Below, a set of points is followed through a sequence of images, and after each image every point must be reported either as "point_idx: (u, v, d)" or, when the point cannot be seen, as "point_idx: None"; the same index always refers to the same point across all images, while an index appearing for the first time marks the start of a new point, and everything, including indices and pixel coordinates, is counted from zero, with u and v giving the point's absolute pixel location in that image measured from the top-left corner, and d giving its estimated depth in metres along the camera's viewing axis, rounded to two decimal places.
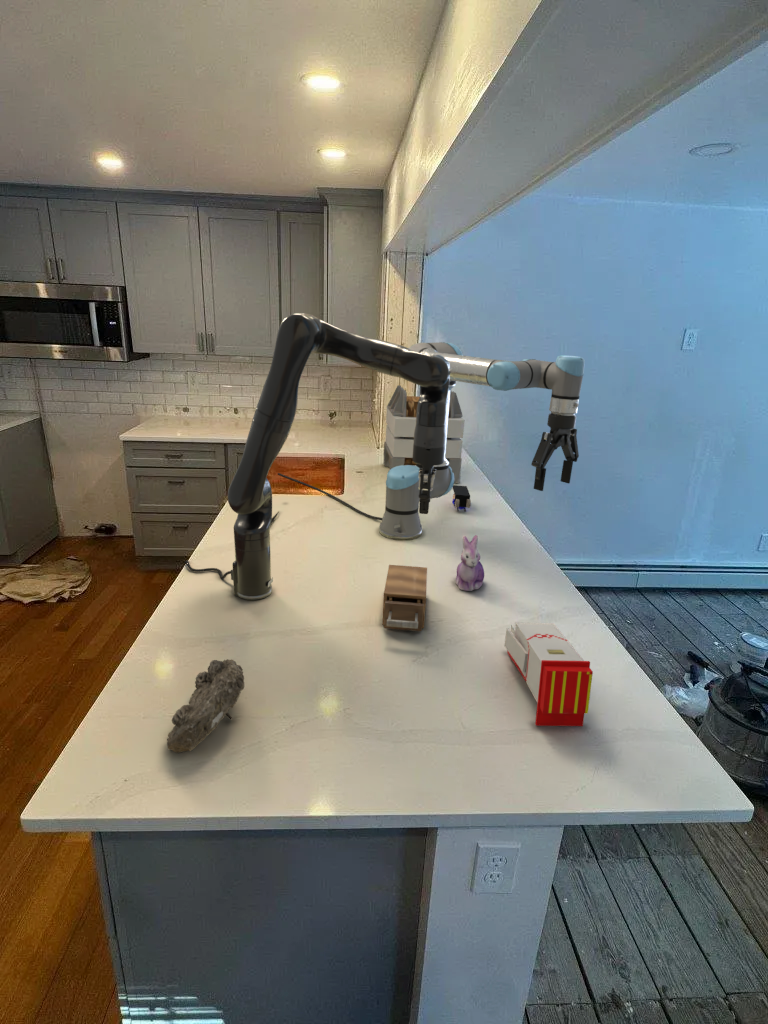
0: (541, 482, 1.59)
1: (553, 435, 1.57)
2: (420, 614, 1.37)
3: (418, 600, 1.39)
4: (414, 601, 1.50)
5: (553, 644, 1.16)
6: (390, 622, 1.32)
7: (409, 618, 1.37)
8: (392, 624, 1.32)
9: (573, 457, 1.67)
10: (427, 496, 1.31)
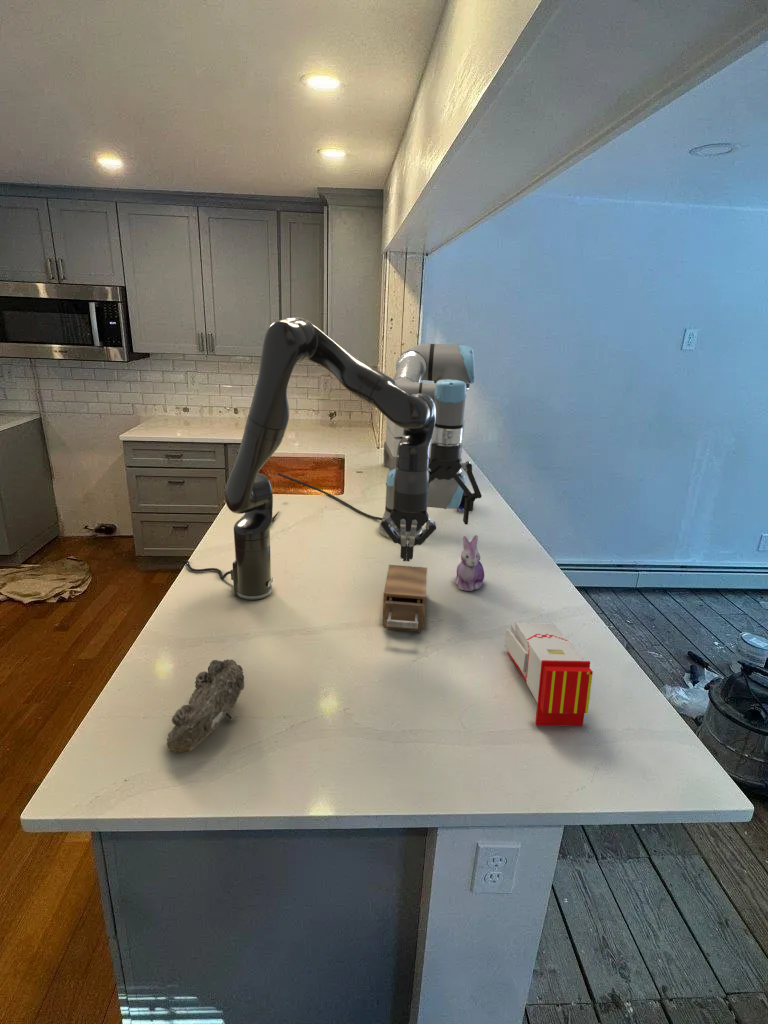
0: None
1: None
2: (420, 614, 1.37)
3: (418, 600, 1.39)
4: (414, 601, 1.50)
5: (553, 644, 1.16)
6: (390, 622, 1.32)
7: (409, 618, 1.37)
8: (392, 624, 1.32)
9: (470, 496, 1.46)
10: None
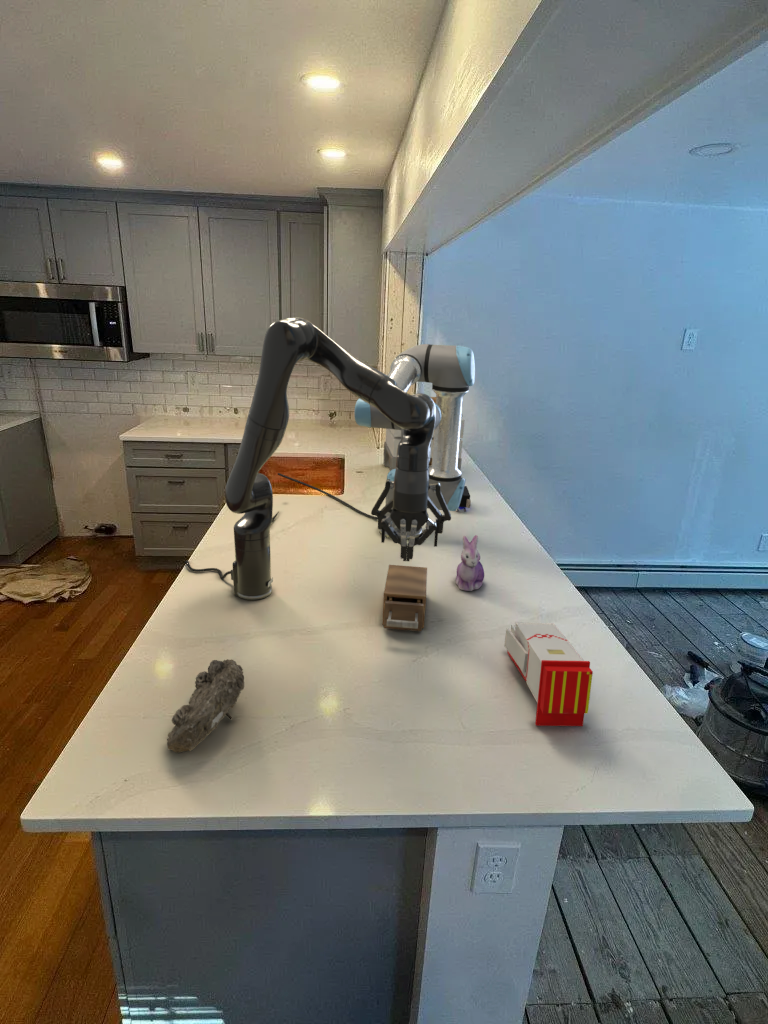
0: (381, 533, 1.46)
1: None
2: (420, 614, 1.37)
3: (418, 600, 1.39)
4: (414, 601, 1.50)
5: (553, 644, 1.16)
6: (390, 622, 1.32)
7: (409, 618, 1.37)
8: (392, 624, 1.32)
9: (439, 517, 1.43)
10: None
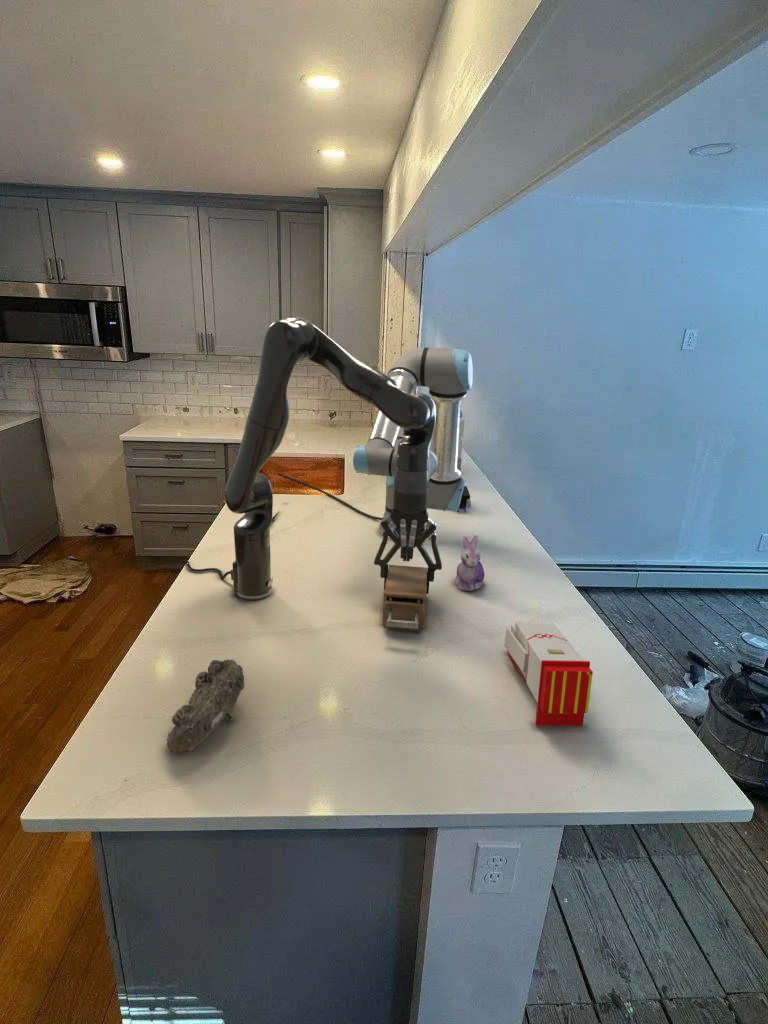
0: (384, 582, 1.50)
1: None
2: (420, 614, 1.37)
3: (418, 600, 1.39)
4: (414, 601, 1.50)
5: (553, 644, 1.16)
6: (390, 622, 1.32)
7: (409, 618, 1.37)
8: (392, 624, 1.32)
9: (431, 566, 1.48)
10: None
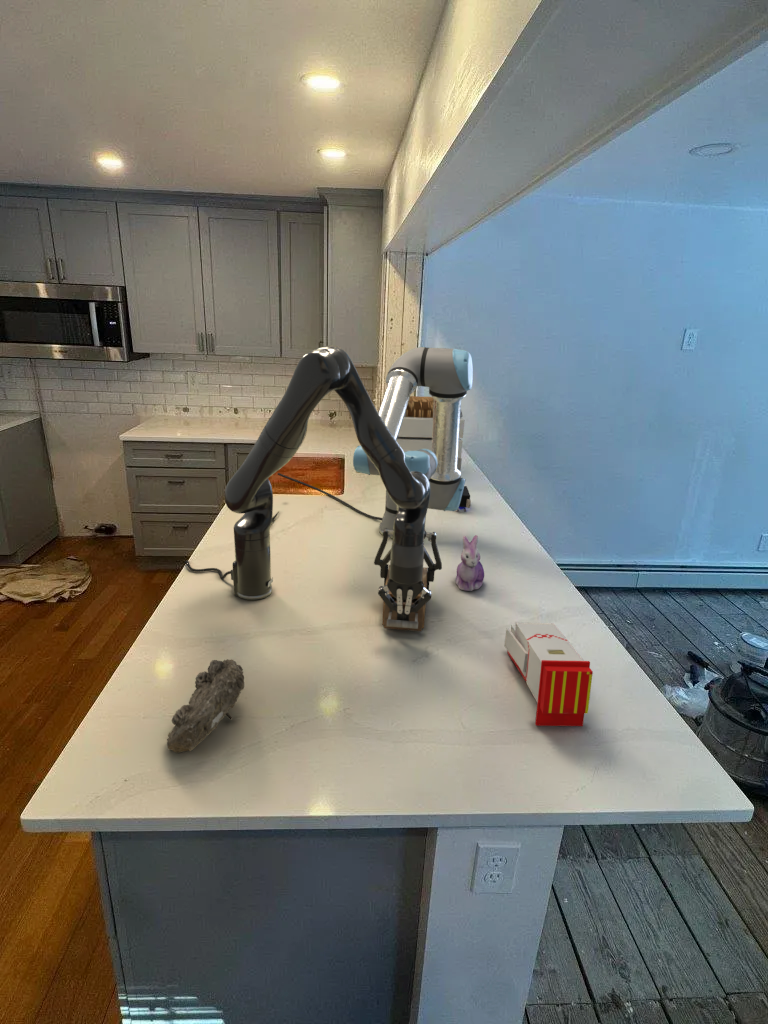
0: (384, 582, 1.50)
1: None
2: (420, 614, 1.37)
3: None
4: (414, 601, 1.50)
5: (553, 644, 1.16)
6: (390, 622, 1.32)
7: (409, 618, 1.37)
8: (392, 624, 1.32)
9: (431, 567, 1.48)
10: None
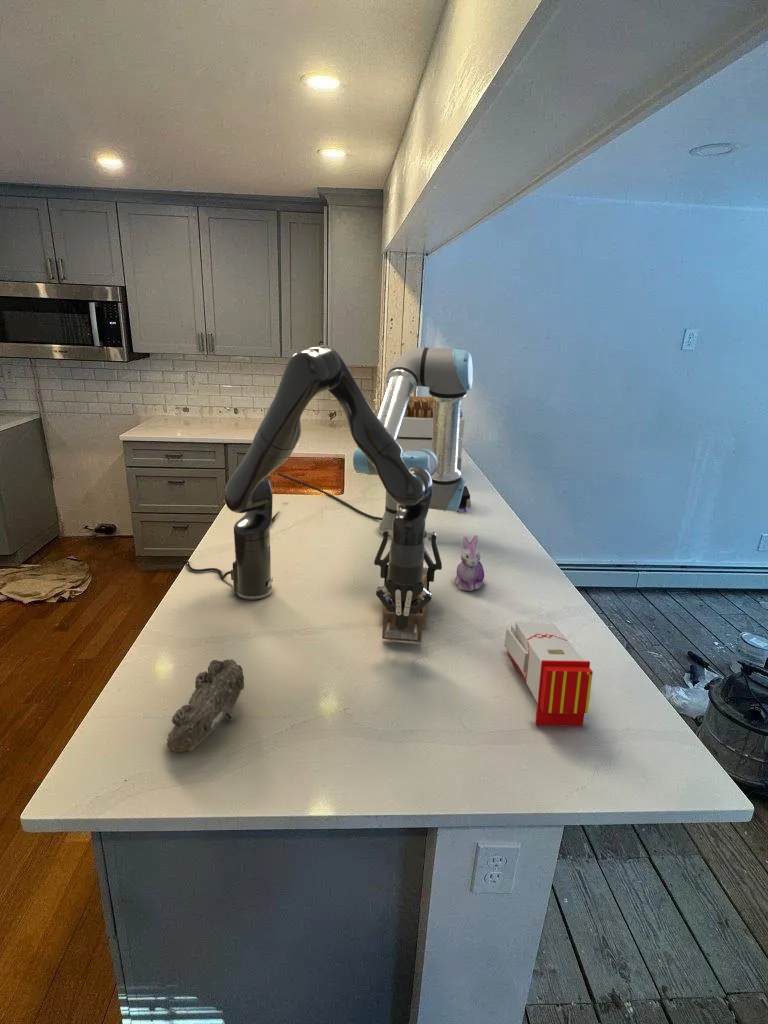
0: (384, 582, 1.50)
1: None
2: (419, 625, 1.32)
3: None
4: None
5: (553, 644, 1.16)
6: (388, 633, 1.27)
7: (408, 628, 1.33)
8: (390, 635, 1.27)
9: (431, 567, 1.48)
10: None
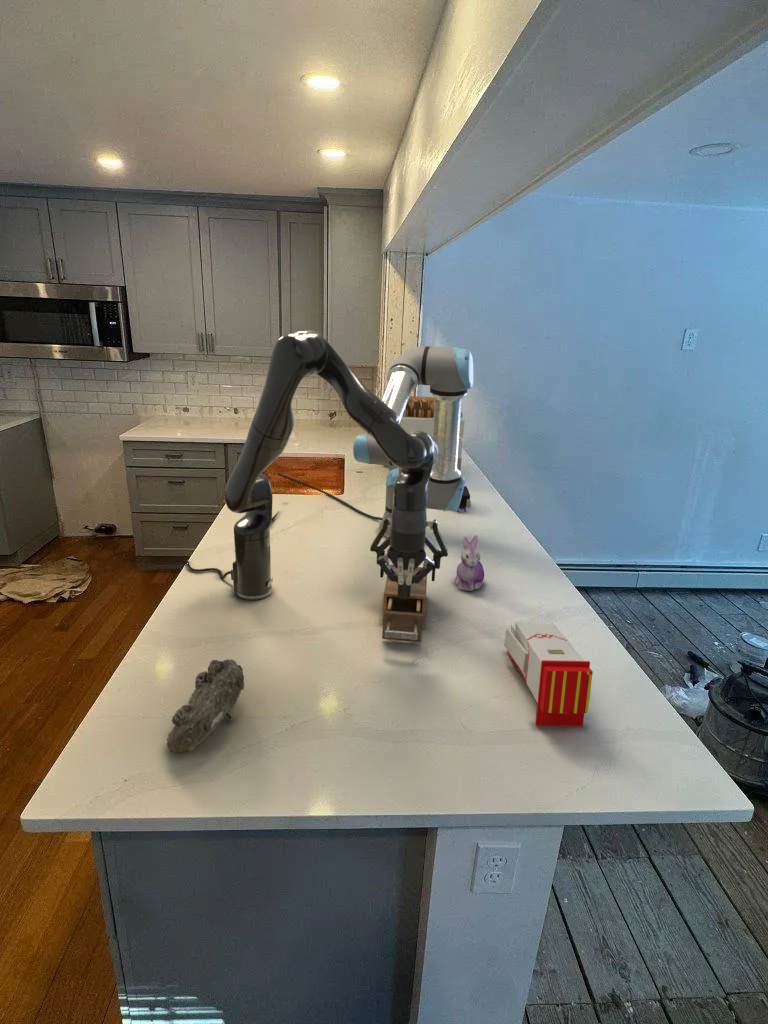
0: None
1: None
2: (419, 625, 1.32)
3: (417, 610, 1.34)
4: (413, 610, 1.46)
5: (553, 644, 1.16)
6: (388, 633, 1.27)
7: (408, 628, 1.33)
8: (391, 635, 1.27)
9: (436, 554, 1.46)
10: None
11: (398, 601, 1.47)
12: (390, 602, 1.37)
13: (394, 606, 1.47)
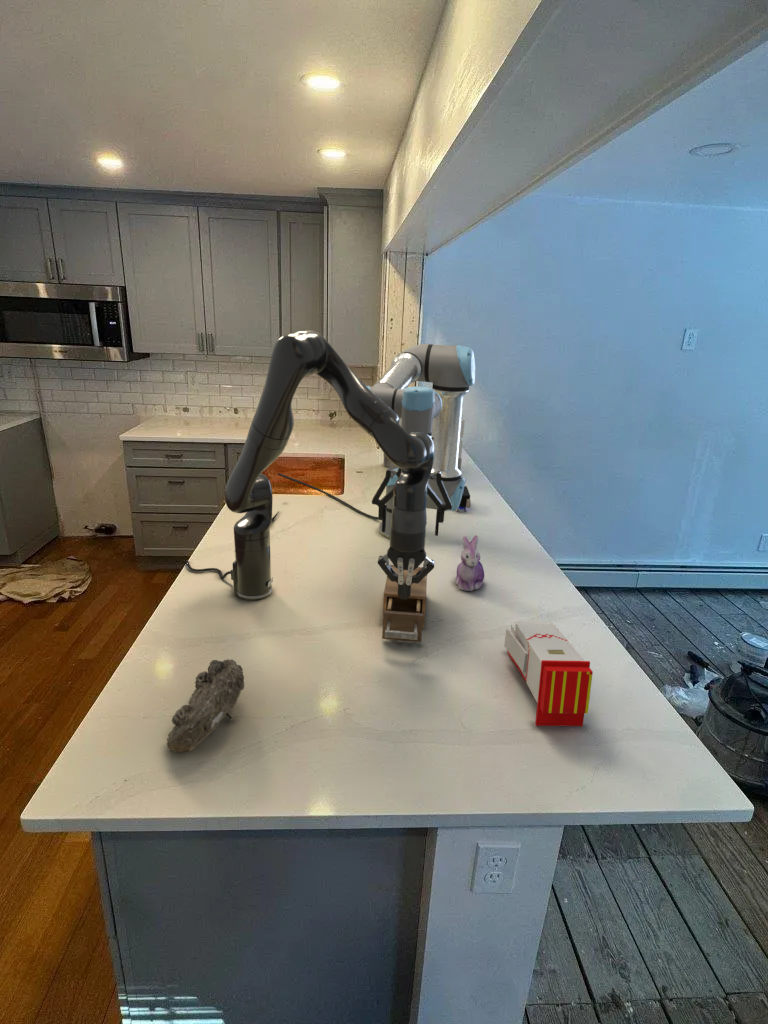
0: (382, 522, 1.45)
1: (396, 473, 1.40)
2: (419, 625, 1.32)
3: (417, 610, 1.34)
4: (413, 610, 1.46)
5: (553, 644, 1.16)
6: (388, 633, 1.27)
7: (408, 628, 1.33)
8: (391, 635, 1.27)
9: (440, 506, 1.42)
10: None
11: (398, 601, 1.47)
12: (390, 602, 1.37)
13: (394, 606, 1.47)
